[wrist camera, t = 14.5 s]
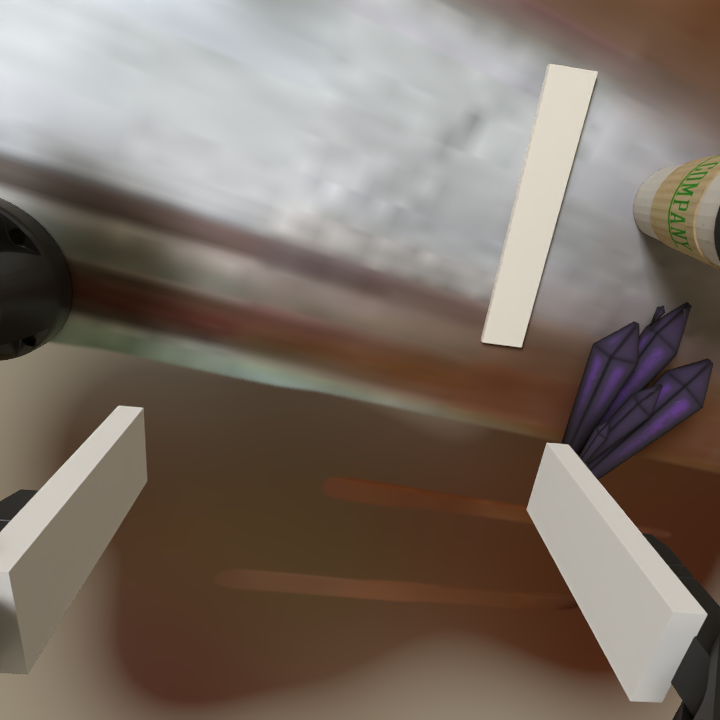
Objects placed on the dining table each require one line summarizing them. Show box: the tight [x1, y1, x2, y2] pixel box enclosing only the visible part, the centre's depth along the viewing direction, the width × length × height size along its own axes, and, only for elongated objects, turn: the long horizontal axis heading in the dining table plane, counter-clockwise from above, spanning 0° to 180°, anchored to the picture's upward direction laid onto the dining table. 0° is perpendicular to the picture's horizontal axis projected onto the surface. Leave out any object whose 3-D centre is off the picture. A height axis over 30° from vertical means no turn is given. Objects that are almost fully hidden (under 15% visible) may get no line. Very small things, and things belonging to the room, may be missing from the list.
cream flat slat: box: [481, 64, 598, 347], centre depth 44 cm, size 4×24×1 cm, turn 172°
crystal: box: [562, 302, 713, 480], centre depth 48 cm, size 7×12×20 cm
